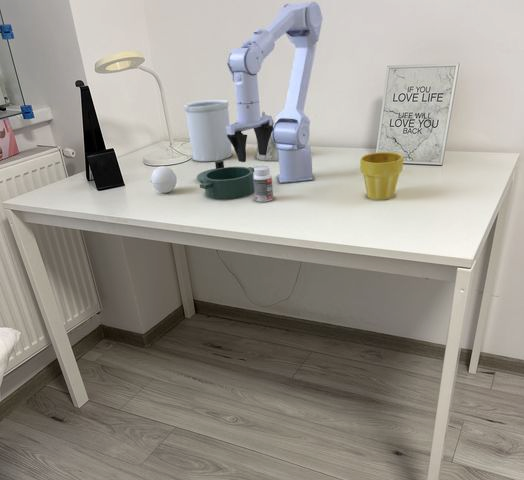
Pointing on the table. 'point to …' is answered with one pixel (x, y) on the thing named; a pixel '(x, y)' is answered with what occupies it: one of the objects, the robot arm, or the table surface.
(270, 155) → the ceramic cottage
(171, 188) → the white rounded ovoid
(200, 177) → the lid
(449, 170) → the table surface
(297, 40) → the robot arm
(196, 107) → the utensil holder
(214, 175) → the pot
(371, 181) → the flower pot
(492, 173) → the table surface
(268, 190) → the pill bottle
